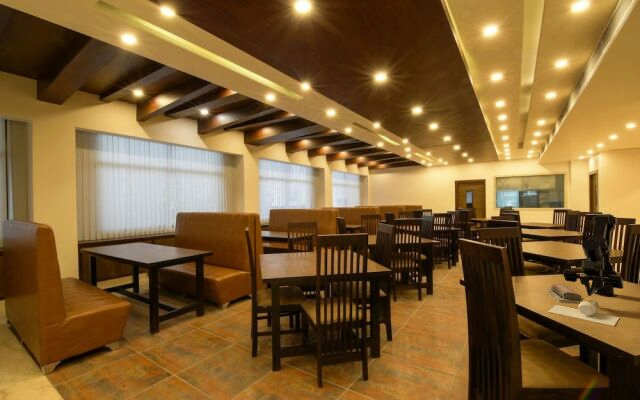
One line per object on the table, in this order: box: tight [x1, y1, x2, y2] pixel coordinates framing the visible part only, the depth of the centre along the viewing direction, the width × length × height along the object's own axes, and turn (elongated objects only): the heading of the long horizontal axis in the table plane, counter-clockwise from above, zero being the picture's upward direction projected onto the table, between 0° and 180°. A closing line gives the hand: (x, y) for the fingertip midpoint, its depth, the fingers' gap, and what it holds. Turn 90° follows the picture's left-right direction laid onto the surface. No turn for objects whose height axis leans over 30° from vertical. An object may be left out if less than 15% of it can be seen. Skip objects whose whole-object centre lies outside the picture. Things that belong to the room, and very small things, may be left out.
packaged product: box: [547, 283, 584, 304], centre depth 144 cm, size 18×5×10 cm
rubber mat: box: [547, 304, 620, 327], centre depth 122 cm, size 12×20×1 cm, turn 39°
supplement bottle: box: [577, 297, 600, 315], centre depth 122 cm, size 5×5×10 cm
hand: (589, 295), depth 126 cm, fingers closed
